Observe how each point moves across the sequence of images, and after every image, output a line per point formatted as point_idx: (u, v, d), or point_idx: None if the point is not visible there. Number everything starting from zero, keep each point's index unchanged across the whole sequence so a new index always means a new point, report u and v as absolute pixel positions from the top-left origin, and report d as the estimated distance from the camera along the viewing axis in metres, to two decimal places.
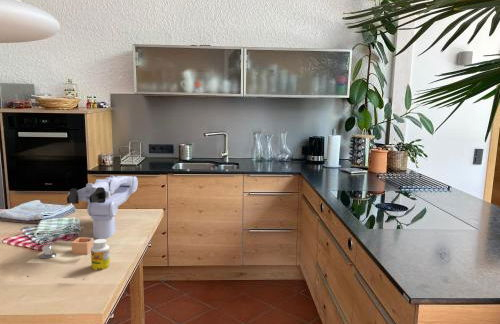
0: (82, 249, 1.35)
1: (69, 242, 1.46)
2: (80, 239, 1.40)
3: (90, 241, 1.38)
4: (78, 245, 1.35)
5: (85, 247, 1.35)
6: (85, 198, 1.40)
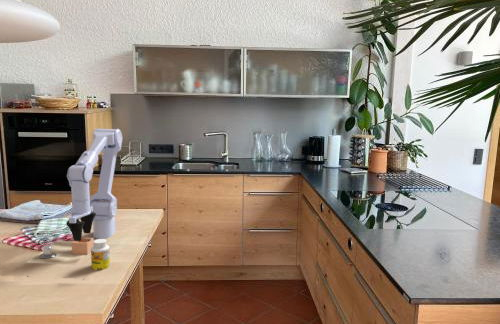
0: (82, 249, 1.35)
1: (69, 242, 1.46)
2: None
3: (90, 241, 1.38)
4: (78, 245, 1.35)
5: (85, 247, 1.35)
6: None
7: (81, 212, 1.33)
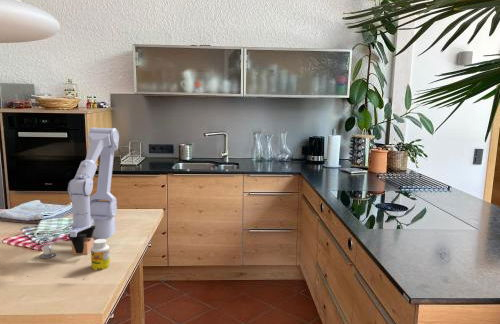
0: None
1: (69, 242, 1.46)
2: None
3: (90, 241, 1.38)
4: None
5: (85, 247, 1.35)
6: None
7: (82, 225, 1.34)
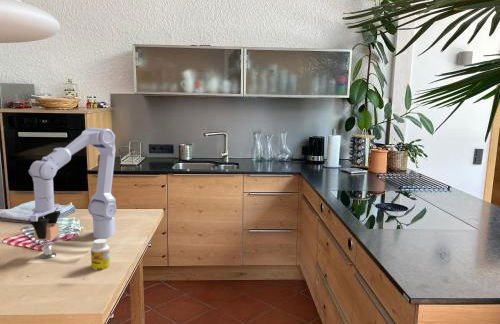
0: None
1: (69, 242, 1.46)
2: None
3: (54, 227, 1.32)
4: None
5: (48, 233, 1.29)
6: None
7: (44, 210, 1.28)
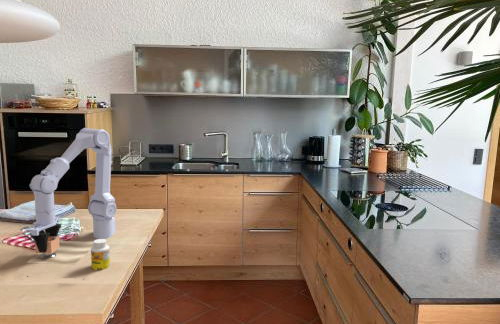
0: None
1: (69, 242, 1.46)
2: None
3: (55, 240, 1.33)
4: None
5: (49, 246, 1.30)
6: None
7: (45, 224, 1.29)
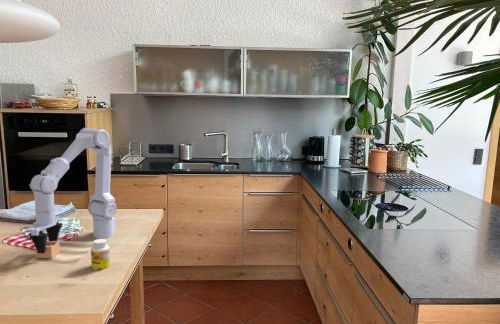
0: (46, 253, 1.30)
1: (69, 242, 1.46)
2: None
3: (55, 245, 1.33)
4: None
5: (49, 251, 1.30)
6: None
7: (45, 224, 1.29)
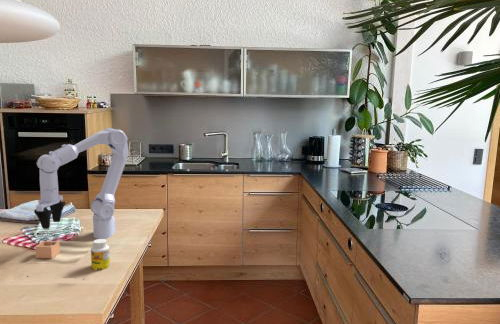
0: (46, 253, 1.30)
1: (69, 242, 1.46)
2: (45, 242, 1.35)
3: (55, 245, 1.33)
4: (42, 249, 1.30)
5: (49, 251, 1.30)
6: None
7: (49, 201, 1.37)
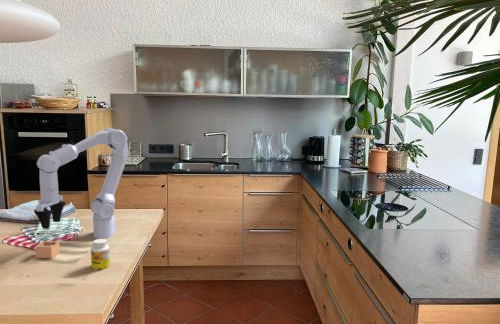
0: (46, 253, 1.30)
1: (69, 242, 1.46)
2: (45, 242, 1.35)
3: (55, 245, 1.33)
4: (42, 249, 1.30)
5: (49, 251, 1.30)
6: None
7: (49, 201, 1.37)
